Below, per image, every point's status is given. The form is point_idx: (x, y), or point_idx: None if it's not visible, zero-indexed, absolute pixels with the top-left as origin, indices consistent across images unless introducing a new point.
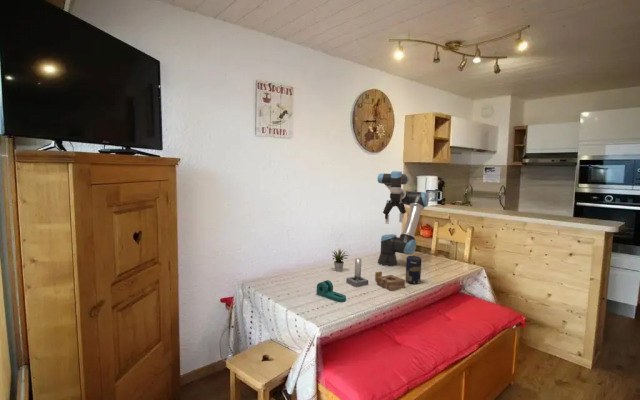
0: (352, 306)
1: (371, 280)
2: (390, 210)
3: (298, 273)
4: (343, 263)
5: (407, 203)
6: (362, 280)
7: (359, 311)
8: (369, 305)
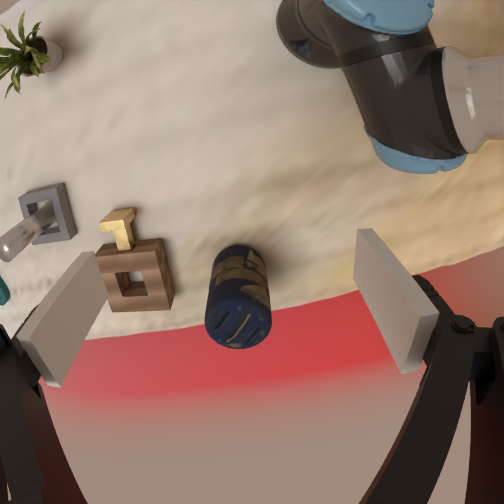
0: (18, 323)
1: (104, 199)
2: (59, 447)
3: None
4: (44, 66)
5: None
6: (53, 235)
7: None
8: None
